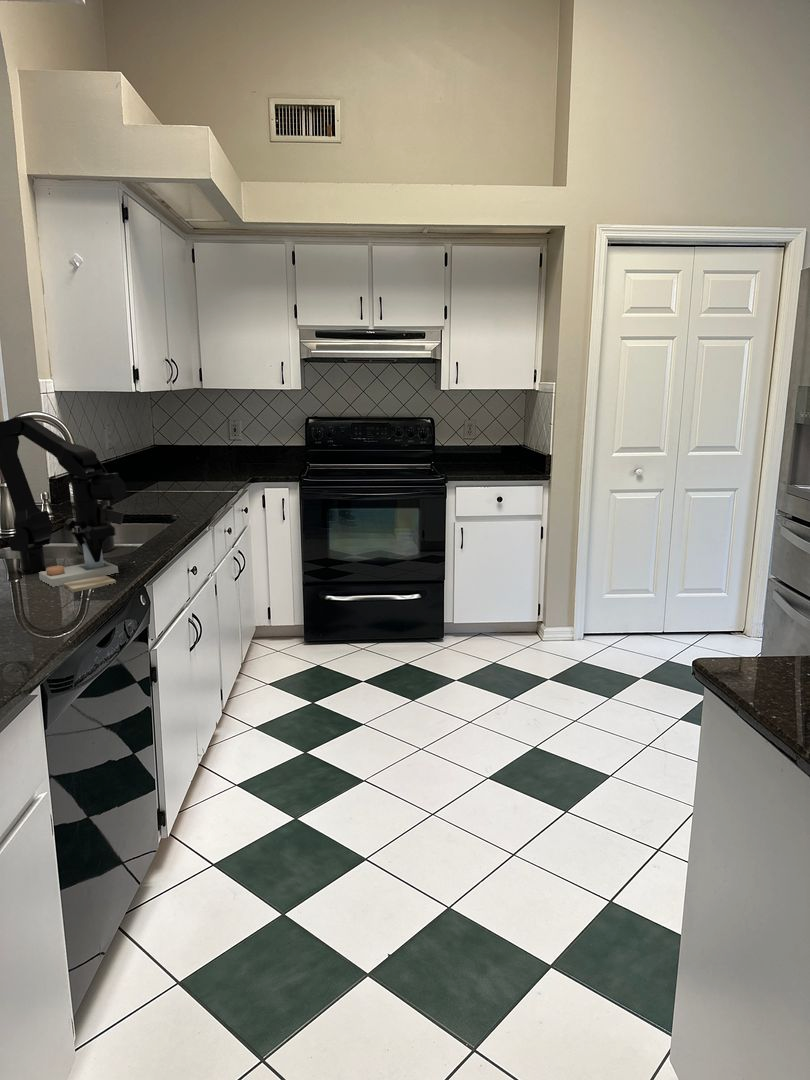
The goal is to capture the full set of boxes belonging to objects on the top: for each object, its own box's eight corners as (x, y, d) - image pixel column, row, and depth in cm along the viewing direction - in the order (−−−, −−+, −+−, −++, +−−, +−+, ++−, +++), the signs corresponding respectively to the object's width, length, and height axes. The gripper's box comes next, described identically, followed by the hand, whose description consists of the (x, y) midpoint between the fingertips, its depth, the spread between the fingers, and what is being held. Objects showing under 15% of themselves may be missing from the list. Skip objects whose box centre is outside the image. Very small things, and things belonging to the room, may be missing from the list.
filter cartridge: (83, 573, 193) (79, 539, 191) (101, 570, 196) (96, 536, 194) (89, 577, 189) (85, 542, 187) (107, 573, 192) (103, 539, 190)
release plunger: (45, 579, 186) (43, 567, 186) (62, 576, 189) (60, 564, 188) (50, 582, 183) (49, 570, 183) (67, 579, 186) (66, 567, 185)
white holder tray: (39, 579, 188) (38, 572, 188) (103, 567, 199) (102, 560, 198) (52, 587, 181) (51, 579, 181) (118, 573, 191) (117, 566, 191)
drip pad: (63, 586, 181) (63, 583, 181) (105, 578, 188) (104, 575, 188) (73, 592, 176) (73, 589, 176) (115, 583, 183) (115, 580, 182)
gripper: (132, 499, 187) (139, 560, 190) (104, 492, 200) (111, 549, 204) (86, 505, 179) (95, 569, 183) (60, 498, 193) (68, 556, 197)
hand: (93, 560), depth 192 cm, fingers closed on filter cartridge, 4 cm apart
